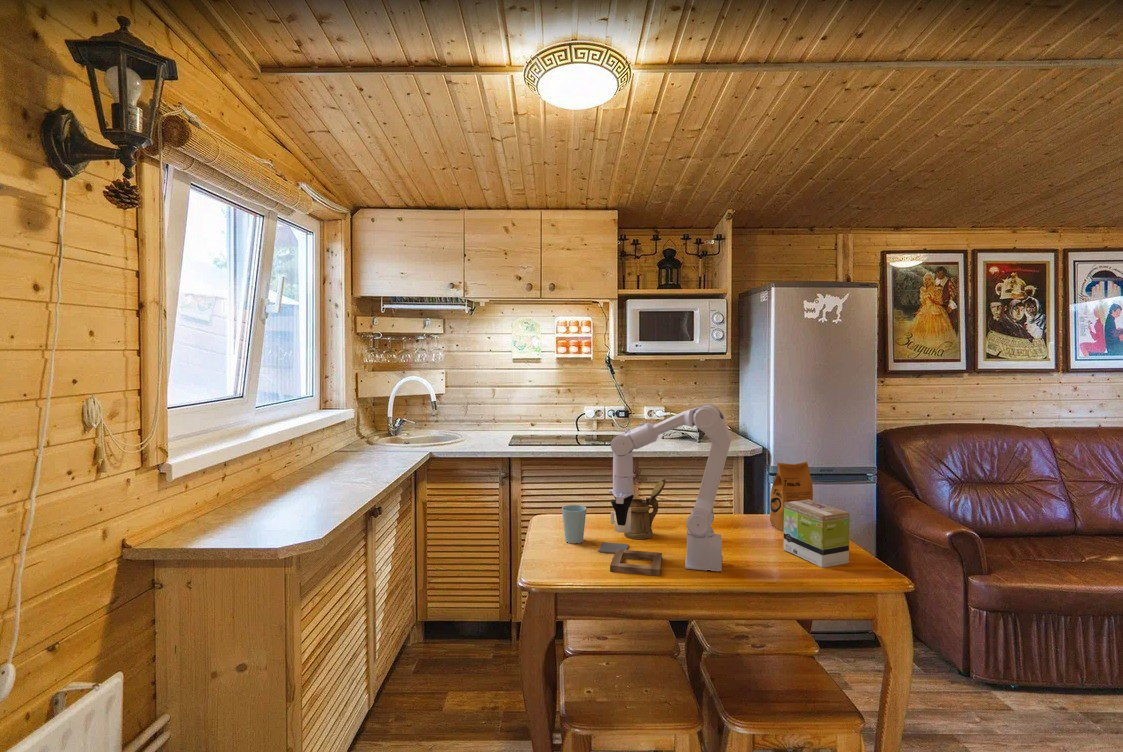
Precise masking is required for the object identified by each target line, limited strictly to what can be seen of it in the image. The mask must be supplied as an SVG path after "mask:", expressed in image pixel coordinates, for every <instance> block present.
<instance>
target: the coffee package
mask: <svg viewBox="0 0 1123 752" xmlns="http://www.w3.org/2000/svg"><path fill="white" fill-rule="evenodd" d="M776 464H777V465H776V466H777V469H778V470H777V472H776V474H775V478H774V480H773V483H772V486H771V490H770V500H769V501H770V503H769V506H770V507H769V508H770V512H769V521H770V524H771V526H774V528H776V529H777V530H778V531H781V532H784V502H785V503H786V502H793V501H800V500H807V499H810V500H813V501H814V498H813V497H814V492H813V491H814V489H813V480H812V476H811V473H810V472H811V471H810V466H809V463H808V461H804V462H803V461H802V462H800V463H795V464H793V463H785V462H777V463H776Z"/></svg>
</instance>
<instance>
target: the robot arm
mask: <svg viewBox="0 0 1123 752" xmlns="http://www.w3.org/2000/svg"><path fill="white" fill-rule="evenodd" d="M683 426H686V427H689V428H690V427H691V428H693V427H695V426H696V427H697V428H698V429H699V430H700V431H701V432H703V433H704V434H705V436H706V437H707V438H708V440H709V441H710V442H711V447H710V450H709V453H708V458H707V460H706V464H705V468H704V472H703V475H702V480H701V484H700V486H699V490H698V491H699V492H698V494H697V498H696V500H695V504H694V507H693V508H692V510H691V511H690V512H691V513H690V514H689V516H688V517H687V519H686V528H687V529H686V556H685V557H684V558H685V561H684V562H685V564H684V569H686V570H696V571H707V570H711V571H710V572H719V571H721V572H723V571H722V566H723V565H722V563H723V561H724V560H723V558H724V556H723V550H722V549H723V548H722V547H723V545H722V543H723V541H722V539H723V537H722V534H719V533H715V531H714V529H713V528H712V524H713V523H714V521H715V514H714V506H715V502H716V498H717V493H718V489H719V486H720V483H721V478H722V476H723V473H724V472H723V471H724V468H725V465H726V464H725V463H726V461H727V457H728V455H729V454H728V453H729V451H730V446H731V443H732V436H731V433H730V430H729V428H728V424H727V422H726V418H725V415H724V414H723V413H722V412H721V410H720V409H719V408H718V407H717V406H716V405H715V404H712V403H708V404H704V405H702V406H701V407H700V406H697V407H694V408H689V409H686V410H684V411H681V412H679V413H677V414H675V415H672V416H671V417H668V418H666V419H664V420H662V421H660V422H657V423H656V424H654V423H651V422H646V423H645V422H641V423H638V426H637V427H635V428H632V429H630V430H629V429H626V430H624V433H620V434H617V435H615V436H614V437H613V438H612V440H611V442H610V450H611V451H612V453H613V455H612V456H613V457H612V488H610V489H608V493H609V494H612V495H613V497H614V499H611V501H610V504H611V506H612V507H613V509H614V510H613V511H614V512H615V514H616V519H617V524H618V525H624V526H625V524H626V519H627V513H628V509H629V507H630V504H631V501H632V499H634V497H635V496H634V490H633V489H634V487H633V486H634V484H633V483H634V482H633V481H634V477H633V475H634V470H633V469H634V459H633V457H634V456H633V454H634V452H633V451H634V450H639V449H641V448H643V447H645V446H648V445H650V444H653V443H655V442H657V440H658V437H659V436H660V435H662V434H664V433H666V432H667V433H668V432H669V431H673V430H675V429H677V428H679V427H683Z"/></svg>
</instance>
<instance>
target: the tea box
mask: <svg viewBox="0 0 1123 752" xmlns="http://www.w3.org/2000/svg"><path fill="white" fill-rule="evenodd" d="M850 517H851V516H850V511H846V510H843V509H840V508H837V507H833V506H831V505H828V504H825V503H821V502H819V501H815V500H814V499H813V500H810V499H807V500H800V501H793V502H786V503H785V502H784V531H783V551H785V552H788V553H791V554H793V555H795V556H797V557H798V558H801V559H803V560H805V561H807V562H809V563H811V564H812V565H815V566H818V567H820V568H822V569H823V568H824V569H825V568H829V567H835V566H842V565H846V564H849V562H850V559H849V558H850Z"/></svg>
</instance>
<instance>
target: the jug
mask: <svg viewBox="0 0 1123 752" xmlns="http://www.w3.org/2000/svg"><path fill="white" fill-rule="evenodd" d="M610 525H614V531H615V532H617V533H622V534H624V533H627V532H630V531H631V508H630V507H629V509H628V513H627V519H626V524H625V526H624V525H618V524H617V519H616V514H615V511H614V510H613V511H610Z"/></svg>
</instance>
